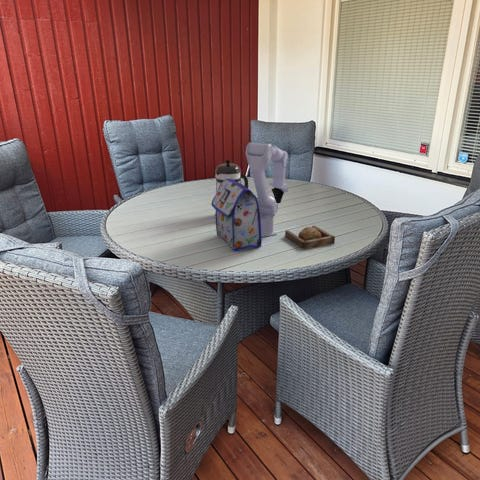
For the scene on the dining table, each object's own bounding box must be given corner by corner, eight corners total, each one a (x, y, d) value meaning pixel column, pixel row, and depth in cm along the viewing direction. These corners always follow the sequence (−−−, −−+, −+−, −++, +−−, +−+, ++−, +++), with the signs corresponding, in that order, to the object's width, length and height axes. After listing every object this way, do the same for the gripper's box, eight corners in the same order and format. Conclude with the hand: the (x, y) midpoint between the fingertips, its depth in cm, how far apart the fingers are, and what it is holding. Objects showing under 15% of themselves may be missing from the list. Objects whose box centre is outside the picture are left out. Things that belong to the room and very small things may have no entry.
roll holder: (303, 249, 169) (303, 242, 168) (285, 236, 182) (285, 230, 181) (334, 243, 175) (335, 236, 174) (314, 231, 188) (314, 225, 187)
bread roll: (301, 251, 176) (305, 239, 170) (293, 235, 182) (297, 222, 176) (321, 249, 178) (326, 236, 172) (313, 232, 185) (317, 220, 179)
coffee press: (242, 222, 200) (241, 162, 189) (211, 220, 203) (209, 161, 192) (248, 211, 216) (248, 156, 204) (219, 209, 219) (218, 155, 207)
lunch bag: (210, 235, 184) (208, 178, 174) (242, 230, 190) (242, 175, 180) (228, 254, 165) (227, 191, 155) (264, 247, 171) (265, 187, 161)
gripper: (294, 178, 185) (292, 205, 191) (278, 171, 198) (277, 198, 203) (280, 179, 183) (279, 207, 188) (266, 173, 195) (265, 199, 200)
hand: (278, 202), depth 195 cm, fingers closed
